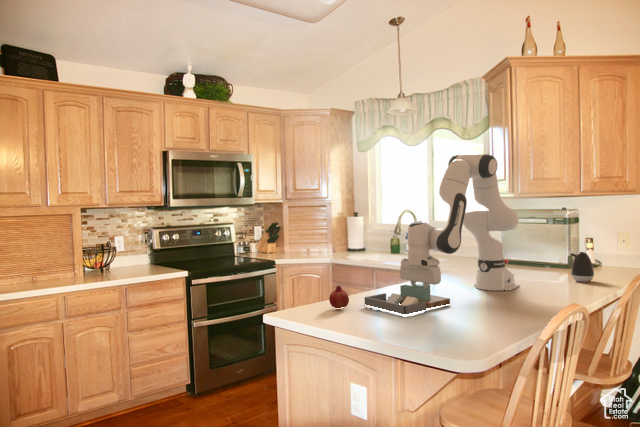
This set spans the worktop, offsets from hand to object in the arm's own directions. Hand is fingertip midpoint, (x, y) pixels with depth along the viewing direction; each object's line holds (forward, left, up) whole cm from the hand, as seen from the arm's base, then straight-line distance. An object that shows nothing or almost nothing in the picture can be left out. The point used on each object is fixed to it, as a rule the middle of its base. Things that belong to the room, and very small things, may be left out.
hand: (420, 292), depth 188 cm
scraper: (0, 0, -2) cm, 2 cm away
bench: (+1, 0, -5) cm, 5 cm away
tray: (+16, 0, -5) cm, 16 cm away
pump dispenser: (-98, +21, -5) cm, 100 cm away
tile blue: (+11, -4, -3) cm, 12 cm away
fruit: (+31, -16, -5) cm, 35 cm away
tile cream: (+11, +5, -3) cm, 12 cm away
